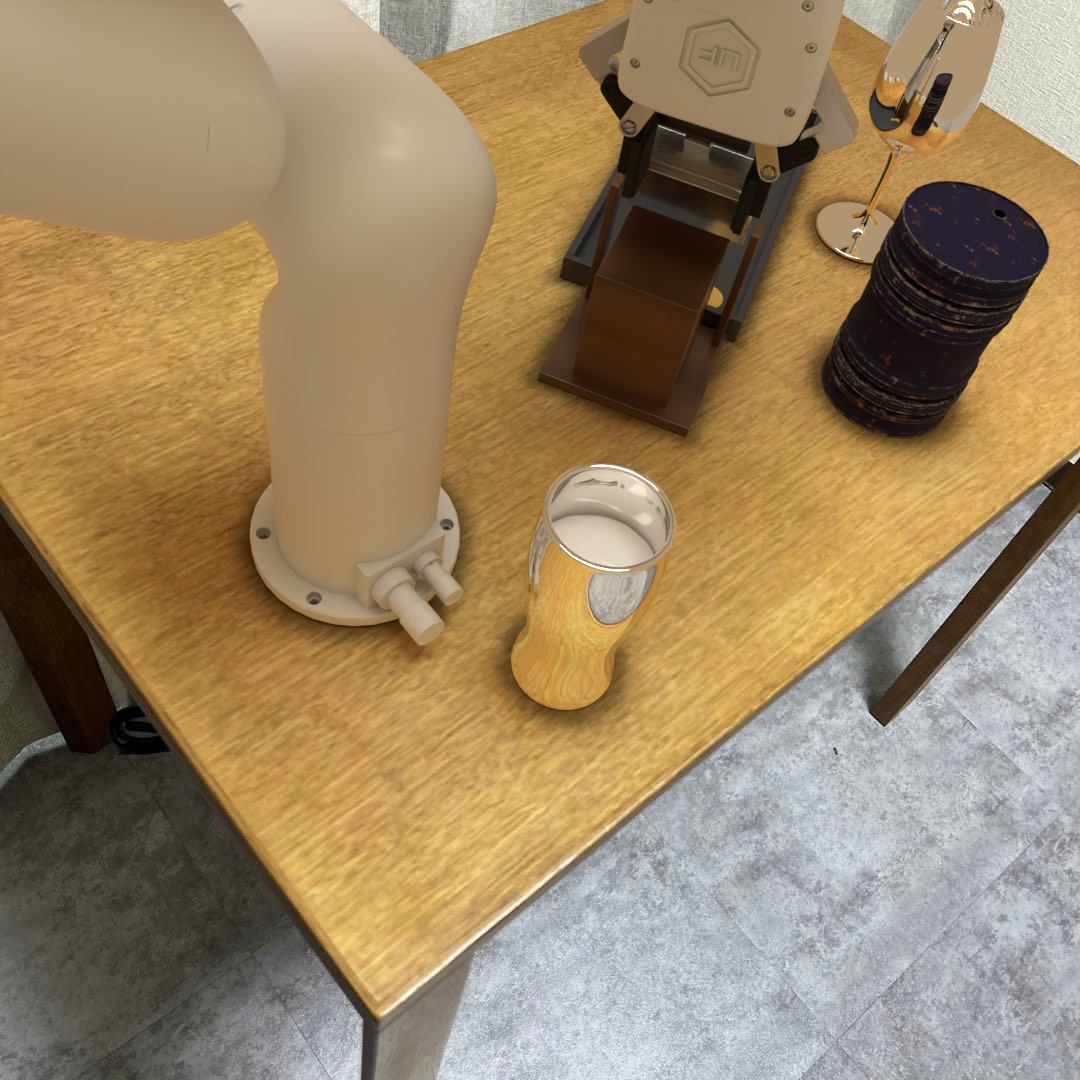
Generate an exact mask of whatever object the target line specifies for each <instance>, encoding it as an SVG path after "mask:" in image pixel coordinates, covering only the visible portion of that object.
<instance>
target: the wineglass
mask: <svg viewBox="0 0 1080 1080" xmlns="http://www.w3.org/2000/svg"><path fill="white" fill-rule="evenodd" d="M1005 13H1006V12H1005V11H1004V8H1003V7H1002V6H1001V4H1000V3H999V2H998V1H997V0H922V1H921V2H920V3H919V5H918V6H917V8H916V9H915V10H914V12H913V14H912V15H910V17H909V19H908V21H907V22H906V23H905V25H904V26H903V28H902V29H901V31H900V32H899V34H898V35H897V37H896V39H894V41H893V43H892V44H891V46H890V47H889V50H888V51H887V52H886V54H885V56H884V58H883V59H882V61H881V64H880V66H879V67H878V70H877V71H876V73H875V76H874V77H873V81H872V84H871V86H870V90H869V93H868V113H869V117H870V121H871V126H872V128H873V129H874V131H875V133H876V134H877V135H878V137H879V138H880V140H881V141H882V142H883V143H884V144H885V145H887V146H888V147H889V148H890V150H889V154H888V159H887V162H886V164H885V166H884V168H883V171H882V174H881V175H880V177H879V180H878V181H877V184H876V186H875V188H874V190H873V193H872V195H871V197H870V199H869V201H868V204H867V205H866V204H863V203H859V202H853V201H852V202H851V201H840V202H833V203H831V204H828V205H826V206H825V207H823V208H821V210H820V211H819V212H818V214H817V216H816V218H815V229H816V232H817V234H818V236H819V237H820V239H821V240H822V242H823V243H824V244H825V245H826V246H827V247H829V248H830V249H831V250H832V251H834V252H835V253H837V254H839V255H840V256H842V257H844V258H846V259H849V260H851V261H855V262H858V263H862V264H863V263H864V264H872V265H873V261H874V259H875V256H876V254H877V253H878V252H879V250H880V247H881V245H882V243H883V241H884V239H885V237H886V235H887V233H888V231H889V229H890V228H891V226H892V225H893V224H894V222H895V221H893V219H892V218H890V217H889V216H888V215H887V214H885V213H883V212H882V211H880V210H878V209H877V206H878V204H879V202H880V200H881V199H882V196H883V194H884V193H885V192H884V191H885V190H886V188H887V185H888V183H889V181H890V179H891V177H892V175H893V173H894V171H895V169H896V167H897V166H898V165H899V163H900V161H901V160H902V159H903V157H904V156H905V155H907V154H908V155H923V154H928V153H933V152H936V151H938V150H940V149H942V148H944V147H946V146H947V145H950V144H951V143H952V142H954V141H955V140H956V139H957V138H958V137H959V136H960V135H962V133H963V132H964V131H965V130H966V129H967V127H968V126H969V124H970V122H971V121H972V119H973V118H974V116H975V113H976V112H977V109H978V107H979V106H980V102H981V100H982V97H983V95H984V92H985V89H986V86H987V83H988V81H989V80H988V79H989V77H990V73H991V70H992V67H993V63H994V60H995V56H996V53H997V49H998V47H999V43H1000V39H1001V34H1002V30H1003V26H1004V23H1005V19H1006V14H1005Z"/></svg>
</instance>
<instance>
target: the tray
mask: <svg viewBox="0 0 1080 1080" xmlns="http://www.w3.org/2000/svg"><path fill="white" fill-rule="evenodd" d="M788 110H789V109H788ZM789 112H790V110H789ZM789 112H788V113H789ZM821 122H822V120H821V118H820V116H819V114H818V113H817V111H816V109H815V108H814V107H813V108H812V110H811V113H810V115H809V117H808V120H807V122H806V124H805V126H804V128H805V127H807V126H817V125H818V124H819V123H821ZM658 125H659V126H661V127H664V128H667V129H670V130H673V131H675V132H678V133H681V134H684V135H685V134H686V133H683V132H680V131H677V130H674V129H672V128H669V127H666V126H663V125H660V124H658ZM713 145H715V146H718V147H721V148H723V149H726V150H729V151H732V152H735V153H738V154H740V155H743V156H746V157H749V158H752V159H754V157H755V155H756V154H755V146H754V143H752V146H751V148H750V151H749V153H748V154H747V155H745V154H742V153H739V152H736V151H734V150H731V149H728V148H725V147H722V146H720V145H717V144H714V143H713ZM805 166H806V164H804V165H801V166H799V167H796V168H794V169H792V170H789V171H787V172H784V173H782V174H780V175H779V178H778V179H777V180H776V181H774V182H773V183H772V186H771V189H770V191H769V194H768V197H767V200H766V203H765V206H764V208H763V211H762V214H761V216H760V219H758V218H755V217H752V220H751V222H750V225H749V227H748V229H747V233H746V237H745V240H744V242H743V245H740V244H737V243H734V242H732V241H730V243H729V246H728V248H727V251H726V254H725V257H724V260H723V262H722V265H721V268H720V271H719V274H718V276H717V279H716V282H715V285H714V287H715V288H717V289H718V290H719V291H720V292H721V294H722V296H723V303H722V305H721V308H720V309H718V308H715V307H713V306H710V305H707V307H706V310H705V313H704V316H703V318H702V321H701V325H704V326H707V327H709V328H712V329H715V330H716V328H717V326H718V323H719V320H720V318H721V315H722V312H723V310H724V307H725V304H726V302H727V299H728V296H729V294H730V291H731V288H732V286H733V283H734V280H735V278H736V275H737V272H738V270H739V267H740V264H741V262H742V259H743V256H744V254H745V251H746V248H747V246H748V243H749V240H750V238H751V235H752V233H753V230H754V228H755V225H756V223H757V222H759V223H762V224H764V225H765V227H764V230H763V233H762V235H761V238H760V240H759V243H758V246H757V248H756V251H755V253H754V256H753V259H752V261H751V264H750V266H749V269H748V272H747V274H746V277H745V279H744V282H743V285H742V287H741V290H740V292H739V295H738V298H737V300H736V303H735V305H734V308H733V311H732V313H731V316H730V318H729V321H728V324H727V326H726V329H725V331H724V333H725V334H727V338H726V340H728V341H730V342H731V341H732V342H733V343H735V342H736V341H737V338H738V335H739V333H740V330H741V328H742V325H743V323H744V320H745V318H746V315H747V313H748V310H749V307H750V305H751V303H752V300H753V297H754V295H755V292H756V290H757V287H758V285H759V282H760V280H761V277H762V275H763V272H764V270H765V267H766V265H767V262H768V260H769V257H770V254H771V252H772V249H773V247H774V245H775V242H776V240H777V237H778V234H779V232H780V229H781V227H782V224H783V222H784V219H785V217H786V214H787V211H788V209H789V207H790V204H791V201H792V198H793V196H794V194H795V192H796V189H797V186H798V184H799V182H800V179H801V176H802V174H803V172H804V169H805ZM617 168H618V163H617V164H616V165H615V168H614V169H613V171H612V173H611V175H610V177H609V178H608V180H607V182H606V184H605V185H604V187H603V188H602V190H601V192H600V194H599V196H598V197H597V199H596V201H595V203H594V204H593V206H592V208H591V209H590V211H589V213H588V214H587V216H586V218H585V219H584V222H583V223H582V225H581V227H580V229H579V230H578V232H577V234H576V235H575V237H574V239H573V240H572V242H571V244H570V246H569V247H568V249H567V251H566V253H565V254H564V256H563V260H562V265H561V270H560V274H559V277H560V278H562V279H565V280H568V281H570V282H572V283H576V284H578V285H581V286H584V287H586V286H587V284H588V279H589V275H590V271H591V267H592V262H593V258H594V254H595V250H596V245H597V241H598V237H599V232H600V228H601V224H602V220H603V215H604V211H605V207H606V202H607V198H608V194H609V190H610V185H611V183H612V181H613V180H614V178H615V176H616V174H617V173H618V172H617ZM622 190H623V189H622ZM632 207H633V206H632V205H630V204H627V200H626V198H625V197H622V193H621V197H620V201H619V205H618V209H617V213H616V217H615V221H614V225H613V230H612V234H611V238H610V242H609V246H608V250H607V253H608V251H609V249H610V247H611V245H612V243H613V242H614V240H615V238H616V236H617V234H618V232H619V231H620V229H621V227H622V225H623V223H624V221H625V219H626V218H627V216H628V214H629V212H630V210H631V208H632ZM606 255H607V254H606Z"/></svg>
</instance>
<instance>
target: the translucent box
mask: <svg viewBox="0 0 1080 1080" xmlns="http://www.w3.org/2000/svg"><path fill="white" fill-rule="evenodd" d="M655 112H656V111H655ZM657 118H659V123H658V124H660V125H663V126H666V127H669V128H672V129H674V130H677V131H680V132H683V133H686V134H685V135H684V134H681V133H678V132H675V131H673V130H670V129H667V128H664V127H661V126H659V125H658V128H657V132H656V136H655V141H654V145H653V150H652V154H651V159H650V163H649V168H648V171H647V173H646V175H645V177H644V179H643V181H642V183H641V185H640V187H639V189H638V191H637V193H636V195H635V197H634V198H632V197H631V198H630V199H628V198H626V200H627V204H630V205H632V206H633V205H636V206H639V207H642V208H645V209H648V210H650V211H653V212H656V213H659V214H661V215H664V216H667V217H670V218H672V219H675V220H678V221H681V222H683V223H686V224H689V225H692V226H694V227H697V228H700V229H703V230H705V231H708V232H711V233H714V234H716V235H719V236H722V237H725V238H727V239H730V241H732V242H734V243H737V244H740V245H743V242H744V240H745V237H746V233H747V229H748V227H749V225H750V222H751V220H752V216H748V218H747V221H746V223H745V225H744V228H743V230H742V233H741V235H740V236H739V235H736V234H733V233H732V230H729V229H730V226H731V223H732V220H733V217H734V213H735V210H736V207H737V204H738V201H739V197H740V194H741V191H742V188H743V185H744V182H745V179H746V176H747V174H748V171H749V169H750V167H751V164H752V162H753V160H754V159H752V158H749V157H746V156H743V155H740V154H738V153H735V152H732V151H729V150H726V149H723V148H721V147H718V146H715V145H713V143H714V144H717V145H720V146H722V147H725V148H728V149H731V150H734V151H736V152H739V153H742V154H745V155H747V154H748V153H749V151H750V148H751V146H752V143H753V142H749V141H746V140H743V139H739V138H736V137H733V136H730V135H727V134H724V133H720V132H717V131H714V130H711V129H708V128H705V127H702V126H699V125H695V124H692V123H689V122H686V121H683V120H680V119H677V118H674V117H671V116H668V115H665V114H662V113H659V112H658V113H657ZM620 153H621V149H620V151H619V153H618V156H617V161H618V162H617V163H619V158H620ZM621 176H622V181H623V185H624V180H625V175H624V174H621Z"/></svg>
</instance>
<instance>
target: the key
mask: <svg viewBox="0 0 1080 1080" xmlns="http://www.w3.org/2000/svg"><path fill="white" fill-rule="evenodd" d="M722 303H723V296H722V294H721V292H720V291H719V290H718V289H717V288H715V287H714V288H713V290H712V293H711V296H710V299H709V302H708V304H707V305H710V306H713V307H715V308H718V309H720V308H721V305H722Z"/></svg>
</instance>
